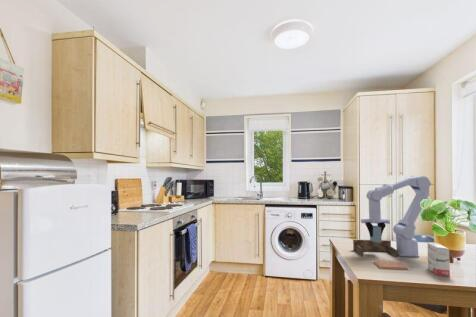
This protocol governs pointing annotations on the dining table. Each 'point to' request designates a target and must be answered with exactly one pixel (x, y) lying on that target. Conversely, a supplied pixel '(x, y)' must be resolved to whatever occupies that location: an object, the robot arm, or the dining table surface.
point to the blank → (376, 234)
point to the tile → (390, 265)
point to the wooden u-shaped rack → (373, 246)
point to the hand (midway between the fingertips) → (375, 236)
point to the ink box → (438, 259)
